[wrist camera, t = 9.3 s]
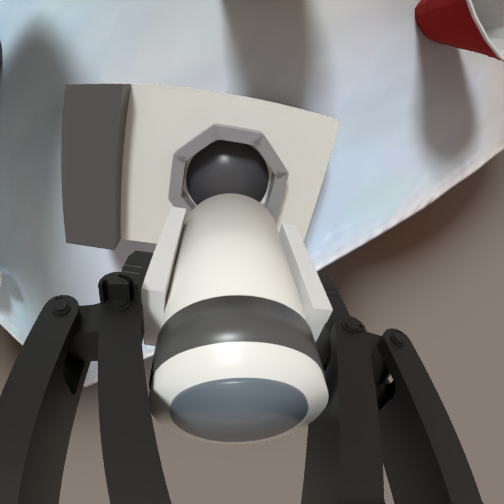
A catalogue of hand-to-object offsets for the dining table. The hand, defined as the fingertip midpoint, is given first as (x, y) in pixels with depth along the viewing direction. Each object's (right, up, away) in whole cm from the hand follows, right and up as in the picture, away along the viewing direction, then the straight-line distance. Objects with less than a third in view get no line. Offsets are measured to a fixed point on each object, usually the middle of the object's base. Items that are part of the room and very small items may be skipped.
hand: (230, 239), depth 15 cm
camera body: (-4, +9, +13) cm, 16 cm away
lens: (0, 0, 0) cm, 0 cm away
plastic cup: (+22, +26, +5) cm, 35 cm away
